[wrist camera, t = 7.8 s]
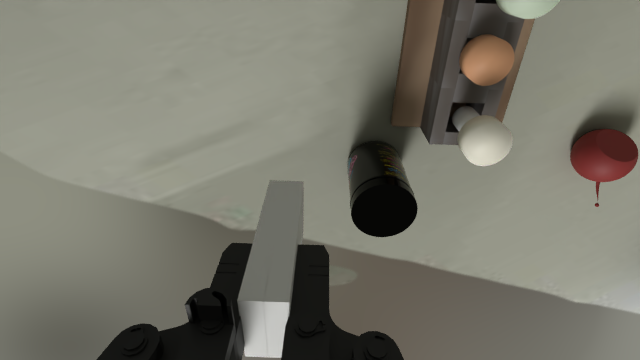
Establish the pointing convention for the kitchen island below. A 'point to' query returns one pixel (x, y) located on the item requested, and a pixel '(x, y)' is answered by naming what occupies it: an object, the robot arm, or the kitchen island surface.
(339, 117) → the kitchen island surface
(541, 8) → the sage button
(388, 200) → the supplement container
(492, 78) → the orange capped peg
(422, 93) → the button board
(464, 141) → the cream button
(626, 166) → the fruit
